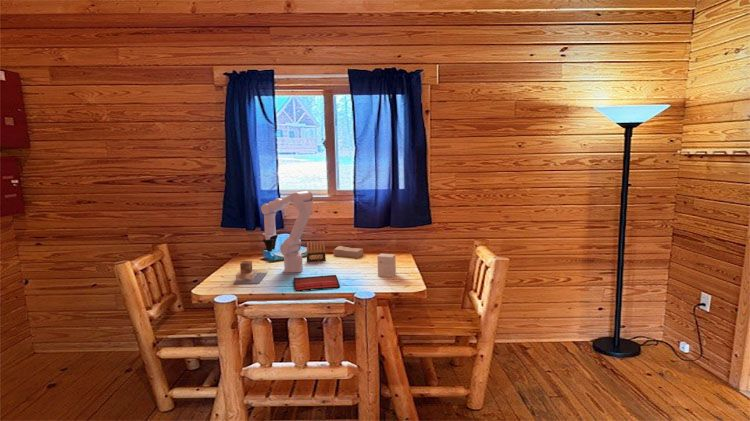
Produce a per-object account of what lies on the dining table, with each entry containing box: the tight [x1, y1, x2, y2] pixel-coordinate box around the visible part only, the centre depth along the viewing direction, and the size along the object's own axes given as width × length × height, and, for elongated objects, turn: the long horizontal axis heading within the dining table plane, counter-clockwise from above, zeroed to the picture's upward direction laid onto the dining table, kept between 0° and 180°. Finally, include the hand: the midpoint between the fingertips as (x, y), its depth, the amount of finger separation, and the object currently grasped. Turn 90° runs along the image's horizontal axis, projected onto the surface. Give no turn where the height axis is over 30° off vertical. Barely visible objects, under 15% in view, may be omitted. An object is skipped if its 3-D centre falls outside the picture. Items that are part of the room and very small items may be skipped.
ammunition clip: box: [306, 240, 327, 263], centre depth 238 cm, size 11×2×12 cm, turn 105°
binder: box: [293, 274, 341, 292], centre depth 198 cm, size 16×2×21 cm
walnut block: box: [239, 260, 253, 274], centre depth 207 cm, size 4×4×5 cm
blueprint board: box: [232, 269, 268, 285], centre depth 207 cm, size 12×16×4 cm
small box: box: [377, 253, 397, 278], centre depth 210 cm, size 8×6×10 cm
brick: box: [332, 245, 364, 259], centre depth 250 cm, size 16×8×5 cm, turn 68°
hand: (271, 249), depth 227 cm, fingers open, 7 cm apart
